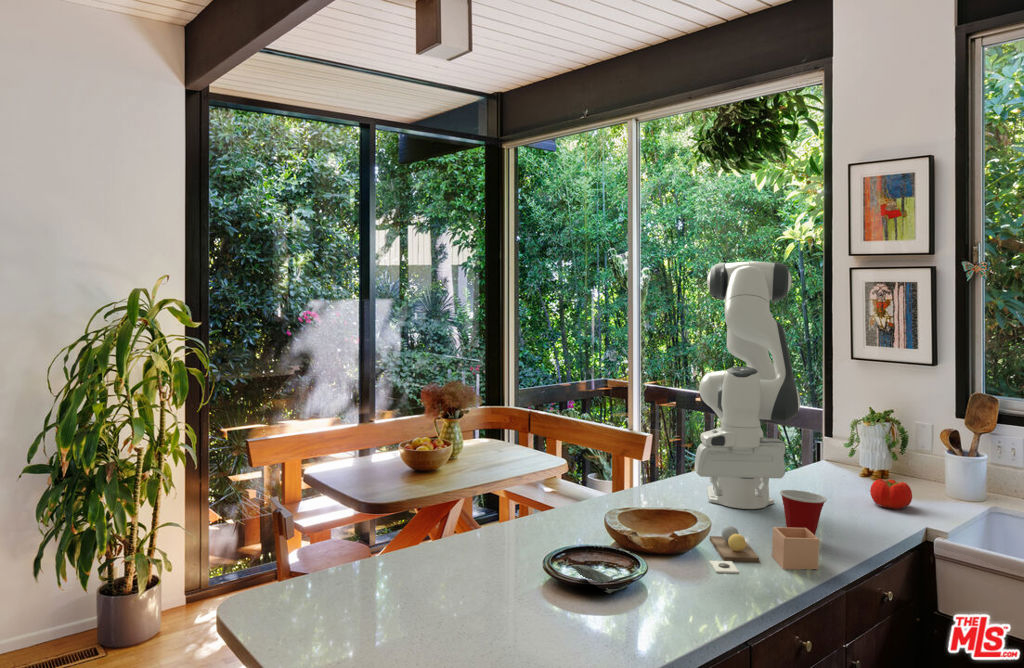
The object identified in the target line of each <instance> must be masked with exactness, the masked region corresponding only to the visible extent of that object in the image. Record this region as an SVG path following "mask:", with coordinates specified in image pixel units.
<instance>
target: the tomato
mask: <svg viewBox="0 0 1024 668" xmlns="http://www.w3.org/2000/svg"><path fill="white" fill-rule="evenodd" d="M869 493H870V496H871V499H872V500H873V502H874V503H875V504H876V505H878V506H880V507H882V508H889V509H895V510H898V509H902V508H904V507H908V506H910V505H911V503H912V501H913V492H912V489H911V487H910V486H909V485H908V483H907V482H903V481H896V480H895V479H887V478H885V480H884V479H882V478H880V479H879V478H878V479H876V480H874V481H873V483H872V484H871V486H870V489H869Z"/></svg>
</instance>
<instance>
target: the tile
mask: <svg viewBox="0 0 1024 668" xmlns="http://www.w3.org/2000/svg"><path fill="white" fill-rule="evenodd" d="M709 564H710V566H711V567H712V568H713V570H714V572H715V573H717V574H739V573H740V571H739V569H738V568H737V567H736V566H735V564H734V561H723V560H709Z"/></svg>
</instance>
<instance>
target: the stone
mask: <svg viewBox="0 0 1024 668" xmlns="http://www.w3.org/2000/svg"><path fill="white" fill-rule="evenodd" d="M570 568H572V569H574V570H575V571H576V572H577V573H579V574H580V575H582V576H583V577H585V578H588V579H592V580H594V581H597V582H599V583H600V582H604V581H605V582H607V581H609V580H610V579H613V577H611V576H609V575H607V574H605V573H604V572H601V571H600V570H596V569H595V568H592V567H591V566H588V565H584V564H582V565H581V564H571V565H570ZM579 574H578V575H579ZM580 575H579V576H580ZM601 584H602V583H601ZM626 587H628V585H627V584H626V586H623V587H621V588H619V589H608V588H606V589H607V590H606V591H604V592H605V593H608V594H611V593H612V592H617V591H619V590H623V589H625V588H626Z"/></svg>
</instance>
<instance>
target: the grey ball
mask: <svg viewBox="0 0 1024 668" xmlns="http://www.w3.org/2000/svg"><path fill="white" fill-rule="evenodd" d="M733 534H740V533H739V530H738V528H737V527H736V526H733V525H726V526H724V527H723V528H722V529H721V536H722V537H723V539H724V540H725V541H727V542H728V540H729V537H730V536H731V535H733Z"/></svg>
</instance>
